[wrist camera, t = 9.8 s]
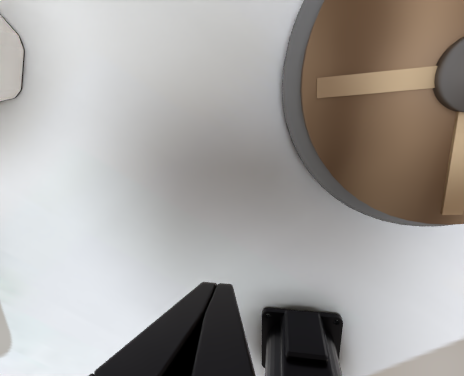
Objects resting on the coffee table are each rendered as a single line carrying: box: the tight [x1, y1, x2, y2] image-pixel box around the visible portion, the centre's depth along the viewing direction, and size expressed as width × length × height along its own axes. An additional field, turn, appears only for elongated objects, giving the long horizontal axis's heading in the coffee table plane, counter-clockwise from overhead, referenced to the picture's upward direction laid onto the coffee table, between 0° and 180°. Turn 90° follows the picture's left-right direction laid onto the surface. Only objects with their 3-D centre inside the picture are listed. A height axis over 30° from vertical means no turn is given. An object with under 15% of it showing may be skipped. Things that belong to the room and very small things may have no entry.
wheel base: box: [282, 0, 453, 226], centre depth 15 cm, size 18×18×2 cm
